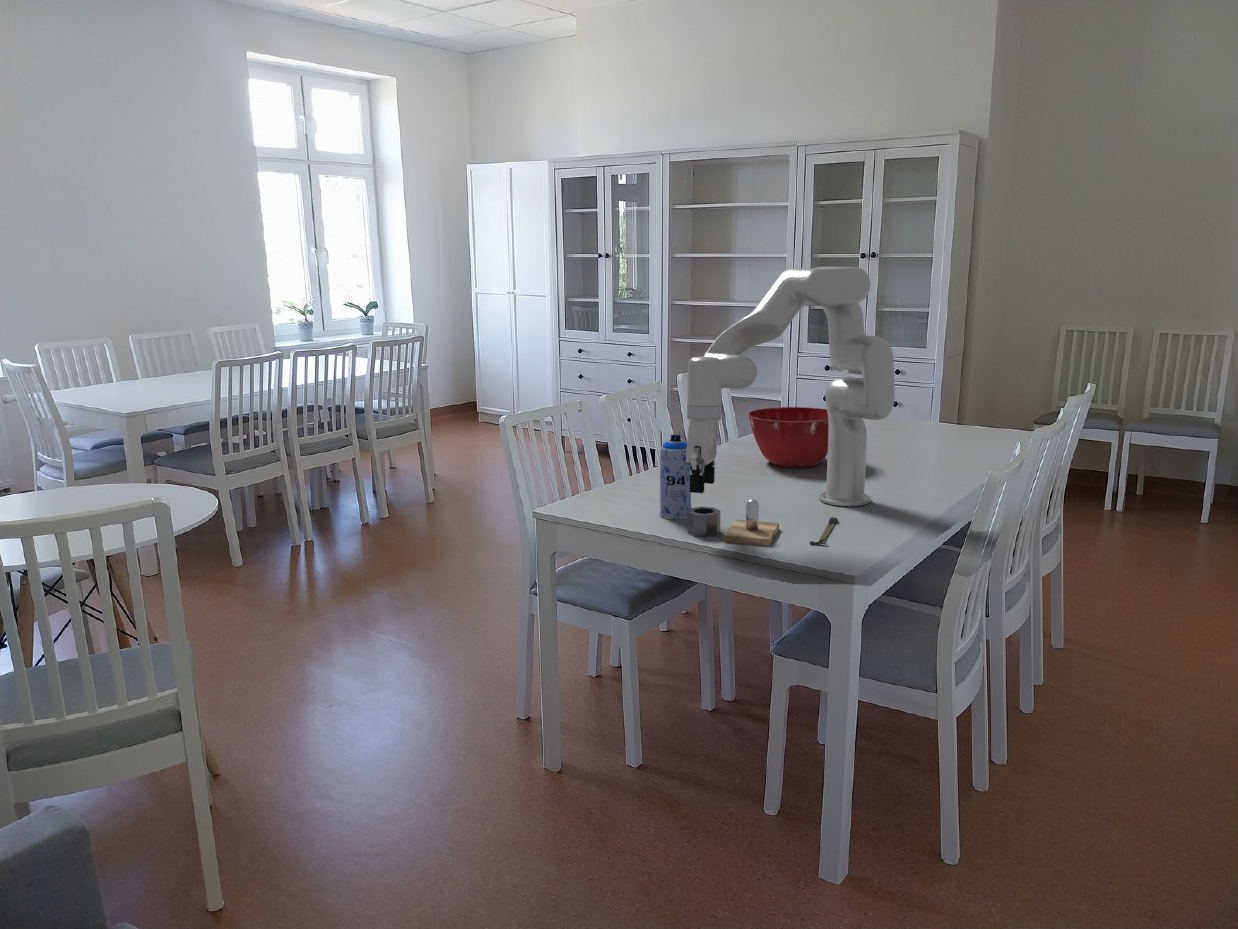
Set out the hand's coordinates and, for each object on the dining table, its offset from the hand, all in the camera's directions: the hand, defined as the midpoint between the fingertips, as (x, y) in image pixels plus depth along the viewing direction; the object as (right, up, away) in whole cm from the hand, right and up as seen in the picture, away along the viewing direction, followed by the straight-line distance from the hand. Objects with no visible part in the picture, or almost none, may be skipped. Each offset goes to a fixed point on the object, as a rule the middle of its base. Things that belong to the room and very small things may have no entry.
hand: (702, 487), depth 206 cm
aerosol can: (-5, -7, +17) cm, 19 cm away
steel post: (+11, -9, -1) cm, 15 cm away
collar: (+1, -10, +3) cm, 11 cm away
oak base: (+11, -11, 0) cm, 16 cm away
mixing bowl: (+35, +5, +72) cm, 80 cm away
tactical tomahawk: (+29, -11, +1) cm, 31 cm away
